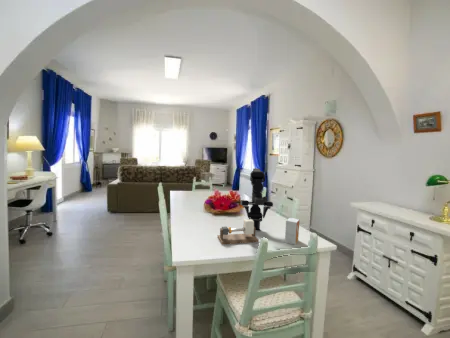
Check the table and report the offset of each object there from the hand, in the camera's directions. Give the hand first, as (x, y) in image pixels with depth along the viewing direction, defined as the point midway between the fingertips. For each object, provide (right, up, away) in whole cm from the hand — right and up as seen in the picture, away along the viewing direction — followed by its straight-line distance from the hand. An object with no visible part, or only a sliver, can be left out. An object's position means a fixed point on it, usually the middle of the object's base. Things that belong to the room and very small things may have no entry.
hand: (256, 218), depth 142 cm
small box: (+21, -14, -1) cm, 25 cm away
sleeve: (-5, -9, 0) cm, 10 cm away
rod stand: (-11, -13, -1) cm, 17 cm away
